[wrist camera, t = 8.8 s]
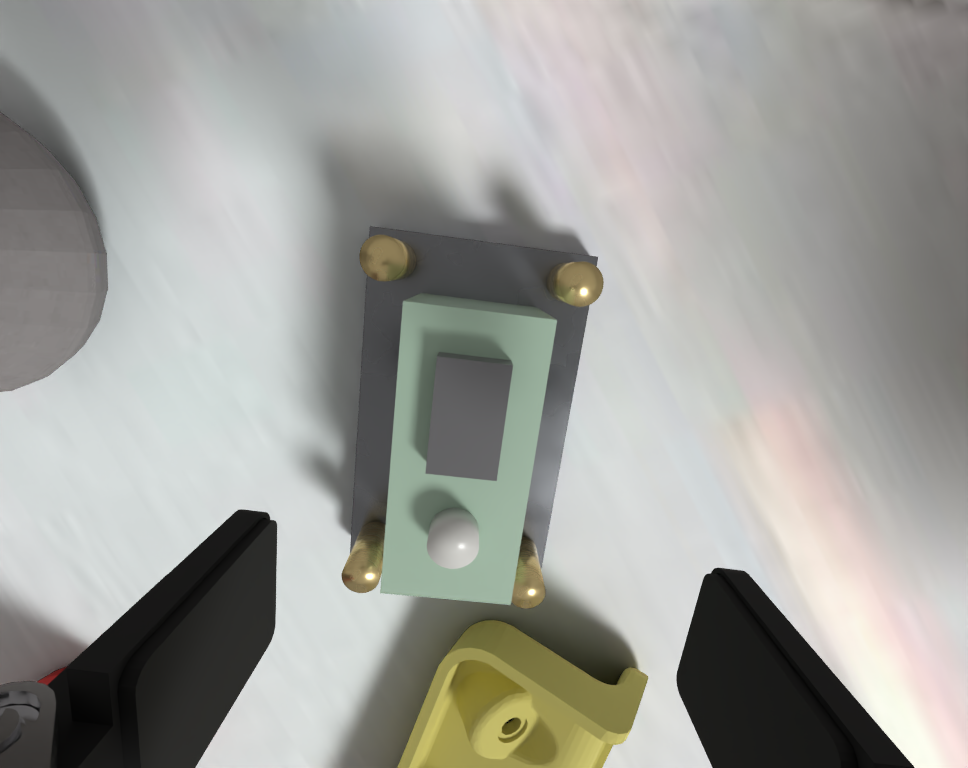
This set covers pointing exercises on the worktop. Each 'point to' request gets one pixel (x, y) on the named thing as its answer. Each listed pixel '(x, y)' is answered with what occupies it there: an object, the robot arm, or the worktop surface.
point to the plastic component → (518, 707)
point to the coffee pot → (44, 261)
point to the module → (463, 446)
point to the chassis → (390, 280)
